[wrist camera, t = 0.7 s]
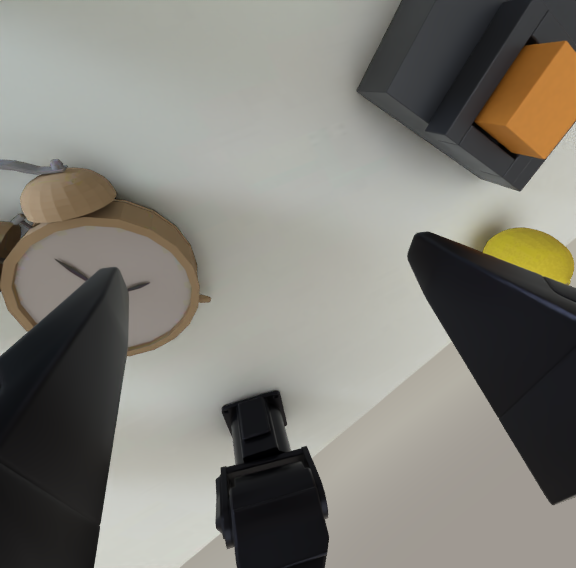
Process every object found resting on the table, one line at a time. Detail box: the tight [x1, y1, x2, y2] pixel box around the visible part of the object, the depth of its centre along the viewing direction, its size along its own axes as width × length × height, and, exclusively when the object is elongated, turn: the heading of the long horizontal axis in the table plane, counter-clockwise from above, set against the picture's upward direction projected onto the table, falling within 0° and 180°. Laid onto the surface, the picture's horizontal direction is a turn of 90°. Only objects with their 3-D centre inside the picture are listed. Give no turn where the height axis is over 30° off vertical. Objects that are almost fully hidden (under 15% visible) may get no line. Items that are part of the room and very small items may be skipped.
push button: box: [357, 0, 576, 191], centre depth 19 cm, size 12×14×6 cm
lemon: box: [483, 228, 574, 285], centre depth 28 cm, size 6×6×8 cm
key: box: [474, 41, 576, 159], centre depth 17 cm, size 4×4×2 cm
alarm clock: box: [0, 159, 211, 356], centre depth 21 cm, size 11×5×15 cm
